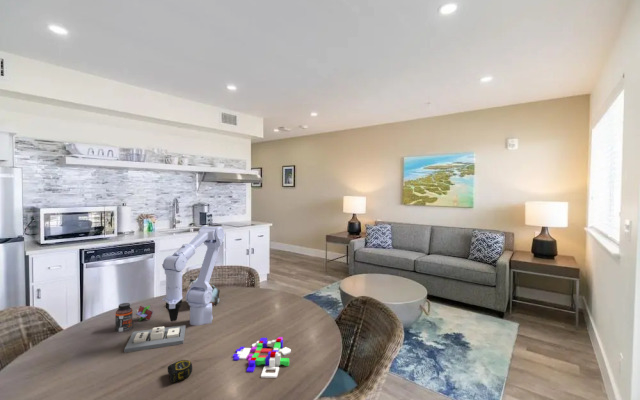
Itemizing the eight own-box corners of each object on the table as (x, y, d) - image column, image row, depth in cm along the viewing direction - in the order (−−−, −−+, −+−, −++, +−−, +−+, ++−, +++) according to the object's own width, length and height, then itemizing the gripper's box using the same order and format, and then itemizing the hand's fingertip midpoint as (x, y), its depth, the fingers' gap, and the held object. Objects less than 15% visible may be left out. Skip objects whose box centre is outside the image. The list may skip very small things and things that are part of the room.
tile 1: (164, 335, 118) (164, 325, 118) (162, 342, 113) (162, 332, 113) (153, 336, 117) (153, 327, 117) (150, 343, 111) (150, 333, 111)
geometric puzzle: (160, 313, 138) (150, 299, 138) (150, 318, 131) (140, 304, 132) (148, 321, 138) (139, 307, 139) (138, 327, 132) (128, 312, 132)
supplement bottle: (123, 335, 120) (124, 307, 120) (111, 333, 121) (111, 306, 121) (135, 328, 126) (135, 302, 126) (123, 327, 127) (124, 301, 127)
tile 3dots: (148, 340, 116) (148, 330, 116) (145, 347, 111) (145, 337, 111) (136, 341, 115) (137, 332, 115) (133, 349, 109) (133, 339, 109)
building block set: (243, 340, 119) (243, 328, 119) (294, 341, 119) (294, 330, 119) (221, 378, 94) (222, 364, 94) (286, 380, 94) (286, 366, 94)
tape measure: (167, 374, 95) (167, 363, 95) (189, 368, 99) (190, 356, 99) (170, 386, 89) (170, 373, 89) (194, 378, 93) (194, 366, 93)
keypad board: (185, 330, 125) (185, 325, 125) (183, 346, 112) (183, 340, 112) (133, 337, 118) (133, 331, 118) (124, 355, 105) (124, 348, 105)
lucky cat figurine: (218, 307, 151) (204, 283, 146) (193, 317, 151) (178, 294, 145) (222, 288, 167) (210, 266, 162) (200, 297, 166) (186, 276, 161)
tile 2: (179, 336, 120) (179, 326, 120) (178, 342, 115) (178, 333, 115) (168, 337, 119) (168, 328, 119) (166, 344, 113) (166, 335, 113)
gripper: (165, 281, 122) (164, 314, 122) (160, 293, 108) (159, 329, 109) (183, 280, 124) (183, 312, 125) (181, 291, 111) (180, 326, 111)
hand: (173, 320), depth 117 cm, fingers closed
